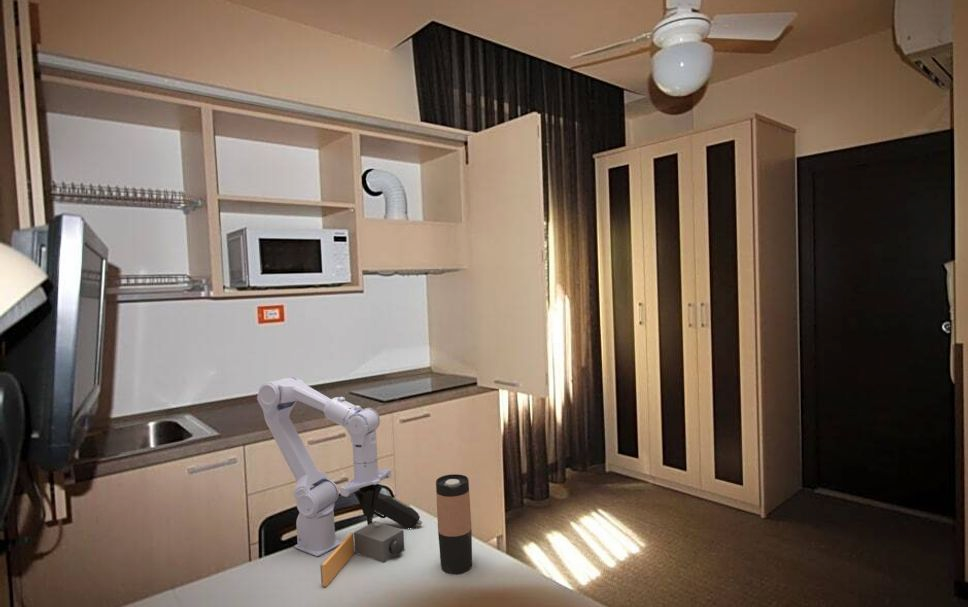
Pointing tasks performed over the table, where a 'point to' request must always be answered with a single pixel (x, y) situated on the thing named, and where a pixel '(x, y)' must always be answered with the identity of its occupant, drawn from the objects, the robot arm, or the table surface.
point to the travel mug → (454, 523)
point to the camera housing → (379, 541)
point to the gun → (395, 511)
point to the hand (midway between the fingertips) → (368, 515)
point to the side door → (337, 560)
